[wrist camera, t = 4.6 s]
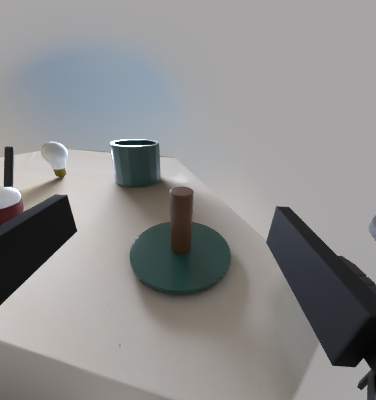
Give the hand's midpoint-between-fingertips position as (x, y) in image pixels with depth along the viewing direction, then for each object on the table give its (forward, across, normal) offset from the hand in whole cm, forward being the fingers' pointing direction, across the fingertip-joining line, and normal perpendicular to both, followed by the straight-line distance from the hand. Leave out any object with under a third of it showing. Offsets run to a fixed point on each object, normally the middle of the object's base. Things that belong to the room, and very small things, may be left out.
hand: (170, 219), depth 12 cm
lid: (+10, 0, -11) cm, 15 cm away
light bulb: (+39, -38, -12) cm, 55 cm away
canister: (+40, -15, -12) cm, 44 cm away
